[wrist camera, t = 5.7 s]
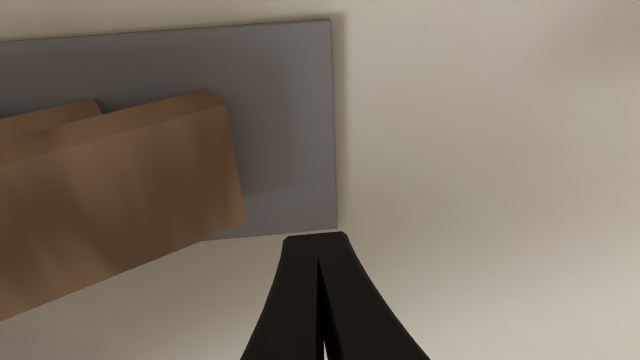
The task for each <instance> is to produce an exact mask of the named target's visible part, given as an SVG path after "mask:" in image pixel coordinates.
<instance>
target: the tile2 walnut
mask: <svg viewBox="0 0 640 360" xmlns="http://www.w3.org/2000/svg"><path fill="white" fill-rule="evenodd" d="M99 115H103V114H102V113H101V111H100V109H99V107H98V105H97V103H96V102H95V100H94V98H89V99H85V100H80V101H76V102H72V103H68V104H63V105H59V106H55V107H51V108H46V109H42V110H38V111H34V112H29V113H25V114H21V115H17V116H13V117H8V118H4V119H0V140H4V139H8V138H12V137H16V136H20V135H24V134H28V133H32V132H35V131H39V130H43V129H47V128H51V127H55V126H59V125H63V124H67V123H71V122H75V121H79V120H83V119H87V118H91V117H95V116H99Z"/></svg>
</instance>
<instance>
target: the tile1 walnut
mask: <svg viewBox="0 0 640 360" xmlns="http://www.w3.org/2000/svg"><path fill="white" fill-rule="evenodd" d="M245 223H247V222H246V216H245V210H244V205H243V199H242V193H241V188H240V182H239V176H238V170H237V165H236V159H235V153H234V148H233V142H232V136H231V130H230V125H229V119H228V113H227V108H226V104H225V103H223V102H222V101H221V100H220V99H219V98H218V97H216V96H215V95H214V94H213V93H212V92H210V91H209V90H208V89H207V88H206V89H202V90H198V91H194V92H191V93H187V94H183V95H179V96H175V97H171V98H167V99H163V100H159V101H155V102H151V103H147V104H143V105H139V106H135V107H131V108H127V109H123V110H119V111H115V112H111V113H107V114H103V115H99V116H95V117H91V118H87V119H83V120H79V121H75V122H71V123H67V124H63V125H59V126H55V127H51V128H47V129H43V130H39V131H35V132H32V133H28V134H24V135H20V136H16V137H12V138H8V139H4V140H0V321H2V320H5V319H7V318H10V317H12V316H15V315H17V314H20V313H22V312H25V311H27V310H30V309H32V308H35V307H37V306H40V305H42V304H45V303H47V302H50V301H52V300H55V299H57V298H60V297H62V296H65V295H67V294H70V293H72V292H75V291H77V290H80V289H82V288H85V287H87V286H90V285H92V284H95V283H97V282H100V281H102V280H105V279H107V278H110V277H112V276H115V275H117V274H120V273H122V272H125V271H127V270H130V269H132V268H135V267H137V266H140V265H142V264H145V263H147V262H150V261H152V260H155V259H157V258H160V257H162V256H165V255H167V254H170V253H172V252H175V251H177V250H180V249H182V248H185V247H187V246H190V245H192V244H195V243H197V242H200V241H202V240H205V239H207V238H210V237H212V236H215V235H217V234H220V233H222V232H225V231H227V230H230V229H232V228H235V227H237V226H240V225H242V224H245Z"/></svg>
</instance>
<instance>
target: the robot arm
mask: <svg viewBox="0 0 640 360" xmlns="http://www.w3.org/2000/svg"><path fill="white" fill-rule="evenodd" d="M324 343H325V348H326V353H327V358H328V360H430V358H429V357H428V356H427V355H426V354H425V353H424V351H423V350H422V349H421V348H420V347H419V345H418V344H417V343H416V342H415V341H414V339H413V338H412V337H411V336H410V334H409V333H408V332H407V330H406V329H405V328H404V327H403V325H402V324H401V323H400V321H399V320H398V319H397V317H396V316H395V315H394V313H393V312H392V311H391V309H390V308H389V306H388V305H387V304H386V302H385V301H384V299H383V298H382V296H381V295H380V293H379V292H378V290H377V289H376V287H375V286H374V284H373V283H372V281H371V280H370V278H369V276H368V275H367V273H366V272H365V270H364V268H363V266H362V265H361V263H360V261H359V259H358V258H357V256H356V254H355V252H354V250H353V248H352V246H351V244H350V242H349V239H348V237H347V235H346V234H345V233H344V232H342V231H339V232H328V233H317V234H306V235H295V236H288V237H287V238H286V239H284V240H283V247H282V252H281V257H280V261H279V265H278V268H277V272H276V275H275V278H274V281H273V284H272V287H271V289H270V292H269V295H268V297H267V300H266V303H265V305H264V308H263V311H262V313H261V316H260V318H259V320H258V322H257V325H256V327H255V329H254V331H253V333H252V336H251V338H250V340H249V342H248V344H247V347H246V349H245V351H244V353H243V355H242V357H241V359H240V360H324Z"/></svg>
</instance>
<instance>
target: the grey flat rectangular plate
mask: <svg viewBox="0 0 640 360" xmlns="http://www.w3.org/2000/svg"><path fill="white" fill-rule="evenodd" d="M206 88H207V89H208V90H209V91H210V92H212V93H213V94H214V95H215V96H216V97H218V98H219V99H220V100H221V101H222V102H223V103H225V104H226V108H227V113H228V119H229V125H230V130H231V136H232V142H233V148H234V153H235V159H236V165H237V170H238V176H239V182H240V188H241V193H242V199H243V205H244V210H245V216H246V222H247V223H245V224H242V225H240V226H237V227H235V228H232V229H230V230H227V231H225V232H222V233H220V234H217V235H215V236H212V237H210V238H207V239H205V240H202V241H206V240H217V239H227V238H238V237H249V236H260V235H271V234H282V233H293V232H304V231H315V230H326V229H337V205H336V176H335V147H334V118H333V89H332V60H331V32H330V20H329V19H319V20H305V21H290V22H276V23H262V24H248V25H234V26H220V27H206V28H191V29H177V30H163V31H149V32H135V33H121V34H107V35H92V36H78V37H64V38H50V39H36V40H22V41H8V42H0V119H4V118H8V117H13V116H17V115H21V114H25V113H29V112H34V111H38V110H42V109H46V108H51V107H55V106H59V105H63V104H68V103H72V102H76V101H80V100H85V99H89V98H94V100H95V102H96V103H97V105H98V107H99V109H100V111H101V113H102V114H107V113H111V112H115V111H119V110H123V109H127V108H131V107H135V106H139V105H143V104H147V103H151V102H155V101H159V100H163V99H167V98H171V97H175V96H179V95H183V94H187V93H191V92H194V91H198V90H202V89H206Z"/></svg>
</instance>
